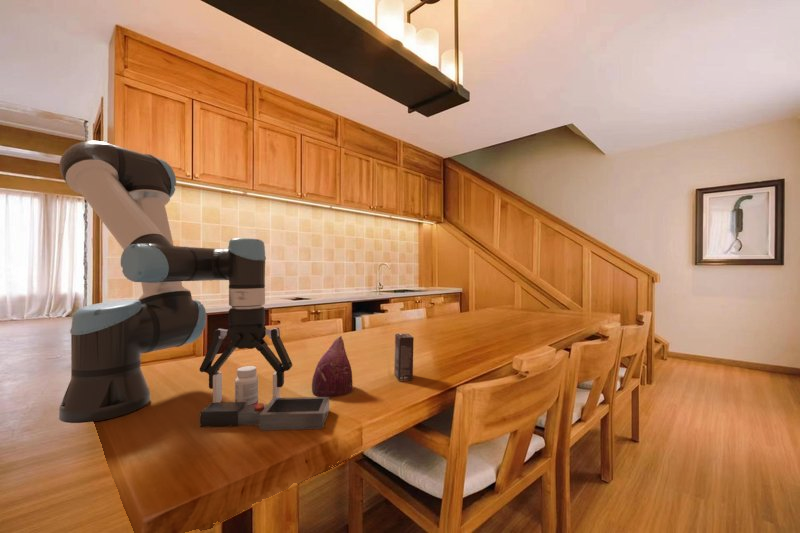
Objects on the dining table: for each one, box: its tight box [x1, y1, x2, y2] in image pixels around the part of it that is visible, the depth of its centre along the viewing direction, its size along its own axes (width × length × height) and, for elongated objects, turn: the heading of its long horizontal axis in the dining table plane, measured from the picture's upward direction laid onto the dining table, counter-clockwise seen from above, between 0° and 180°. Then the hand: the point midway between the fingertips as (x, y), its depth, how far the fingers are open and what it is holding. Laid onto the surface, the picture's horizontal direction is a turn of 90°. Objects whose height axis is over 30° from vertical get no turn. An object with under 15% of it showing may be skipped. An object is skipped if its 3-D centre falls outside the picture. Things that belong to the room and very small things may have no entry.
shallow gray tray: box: [199, 396, 330, 431], centre depth 70 cm, size 24×8×3 cm, turn 94°
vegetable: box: [311, 335, 354, 398], centre depth 89 cm, size 10×10×15 cm
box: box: [393, 333, 414, 382], centre depth 97 cm, size 6×4×12 cm
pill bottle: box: [234, 365, 259, 405], centre depth 77 cm, size 5×5×8 cm
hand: (246, 401), depth 77 cm, fingers open, 12 cm apart
